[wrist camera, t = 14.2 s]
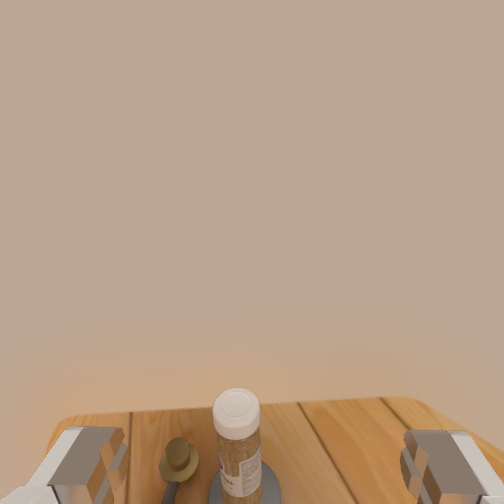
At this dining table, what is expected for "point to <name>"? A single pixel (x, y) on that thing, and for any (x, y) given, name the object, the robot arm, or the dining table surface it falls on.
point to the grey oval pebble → (268, 483)
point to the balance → (177, 466)
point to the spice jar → (239, 445)
